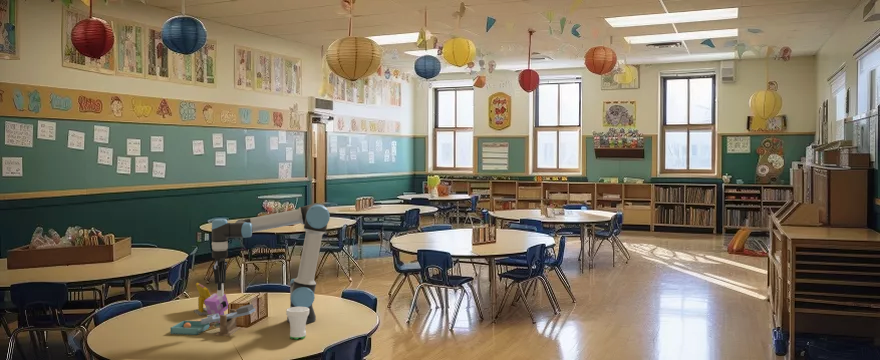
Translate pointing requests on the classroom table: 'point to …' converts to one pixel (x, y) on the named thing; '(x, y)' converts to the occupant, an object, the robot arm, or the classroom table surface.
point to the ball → (187, 325)
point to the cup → (297, 321)
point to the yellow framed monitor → (202, 299)
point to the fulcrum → (227, 325)
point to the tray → (194, 330)
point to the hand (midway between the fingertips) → (220, 296)
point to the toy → (216, 304)
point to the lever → (240, 312)
